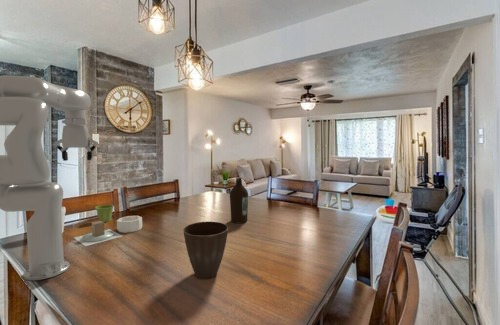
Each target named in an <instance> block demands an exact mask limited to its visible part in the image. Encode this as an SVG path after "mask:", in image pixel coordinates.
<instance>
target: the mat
mask: <svg viewBox="0 0 500 325" xmlns="http://www.w3.org/2000/svg"><path fill="white" fill-rule="evenodd" d="M107 230H110V231H113V232H114V236H113V237H111V238H109V239H106V240H102V241H97V242H85V241H83V240H82V237H83V236H84V235H85V234H84V235H79V236H75V237H73V239H75V240H76V241H77V242H78V243H80V244H81V245H83V246H84V247H88V246H91V245H95V244H99V243H103V242H107V241H111V240H114V239H118V238H121V237H123V235H122V234H121V233H118V232H116V231H114V230H112V229H110V228H108V229H107Z"/></svg>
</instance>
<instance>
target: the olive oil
mask: <svg viewBox="0 0 500 325" xmlns="http://www.w3.org/2000/svg"><path fill="white" fill-rule="evenodd" d="M229 203H230V204H229V205H230V206H229V207H230V220H231V222H232V223H234V224H243V223H247V222H248V213H249V212H248V210H249V209H248V208H249V207H248V206H249V205H248V204H249V193H248V190H247V189H246V188H245V186H244V185H243V180H242V177H236V178H235V185H234V186H233V187H232V188H231V190H230V192H229Z"/></svg>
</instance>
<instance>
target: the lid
mask: <svg viewBox="0 0 500 325" xmlns="http://www.w3.org/2000/svg"><path fill="white" fill-rule="evenodd" d="M110 230H111V229H110ZM110 230H108V229H105V222H102V221H99V220H97V221H93V222H91V232H88V233H86V234H84V236H83V235H82V236H83V237H82V240H83V241H85V242H97V241H102V240H106V239H109V238H111V237H113V236H114V232H115V231H114V230H112V231H110ZM113 231H114V232H113Z"/></svg>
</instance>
